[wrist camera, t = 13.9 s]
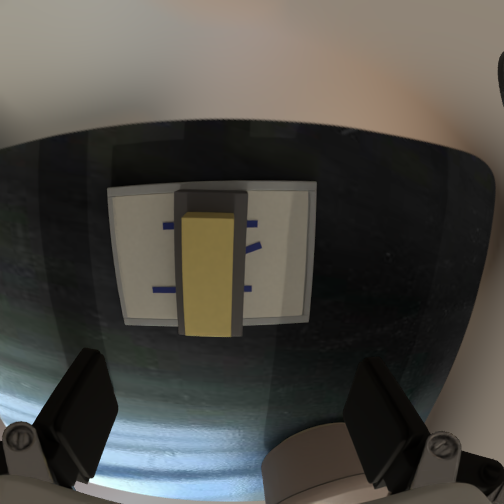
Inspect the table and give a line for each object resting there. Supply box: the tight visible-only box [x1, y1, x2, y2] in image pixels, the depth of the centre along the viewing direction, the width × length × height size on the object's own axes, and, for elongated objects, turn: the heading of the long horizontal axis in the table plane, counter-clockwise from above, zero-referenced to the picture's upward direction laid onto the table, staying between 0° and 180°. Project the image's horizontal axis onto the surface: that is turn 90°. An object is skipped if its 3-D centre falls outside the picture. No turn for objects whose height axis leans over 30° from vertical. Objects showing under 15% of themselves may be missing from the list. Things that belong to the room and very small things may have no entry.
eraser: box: [174, 189, 248, 337], centre depth 23 cm, size 12×6×5 cm, turn 177°
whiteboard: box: [107, 180, 317, 326], centre depth 26 cm, size 18×13×1 cm
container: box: [261, 423, 389, 504], centre depth 30 cm, size 18×18×12 cm
